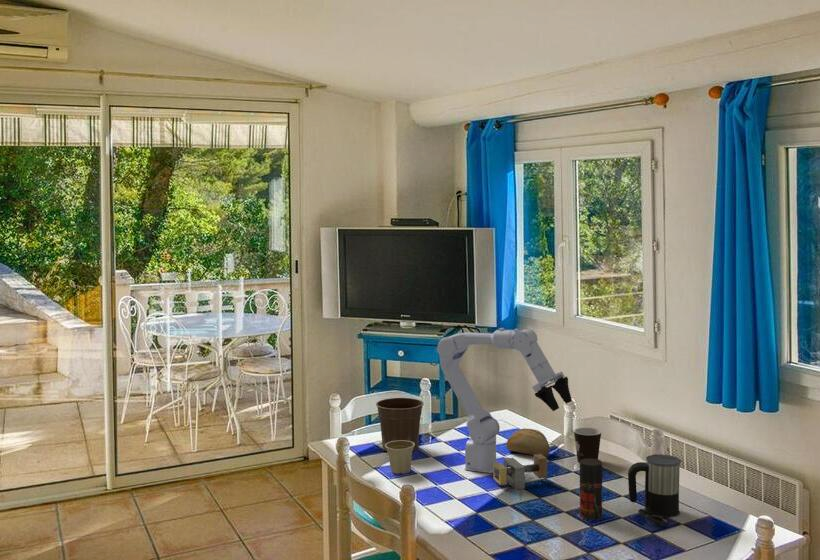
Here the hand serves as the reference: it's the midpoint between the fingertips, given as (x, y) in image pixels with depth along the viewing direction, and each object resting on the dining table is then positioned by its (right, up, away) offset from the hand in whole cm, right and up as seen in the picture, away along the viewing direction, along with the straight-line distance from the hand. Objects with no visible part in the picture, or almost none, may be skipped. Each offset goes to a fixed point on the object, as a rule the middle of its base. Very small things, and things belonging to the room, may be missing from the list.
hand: (562, 406), depth 256 cm
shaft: (-13, -22, +3) cm, 25 cm away
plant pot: (-49, -21, +39) cm, 66 cm away
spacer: (-19, -23, +1) cm, 29 cm away
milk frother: (+21, -26, -25) cm, 42 cm away
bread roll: (-6, -21, +32) cm, 38 cm away
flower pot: (-49, -23, +16) cm, 56 cm away
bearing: (-14, -24, +2) cm, 28 cm away
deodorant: (+3, -26, -23) cm, 35 cm away
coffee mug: (+12, -21, +23) cm, 33 cm away
